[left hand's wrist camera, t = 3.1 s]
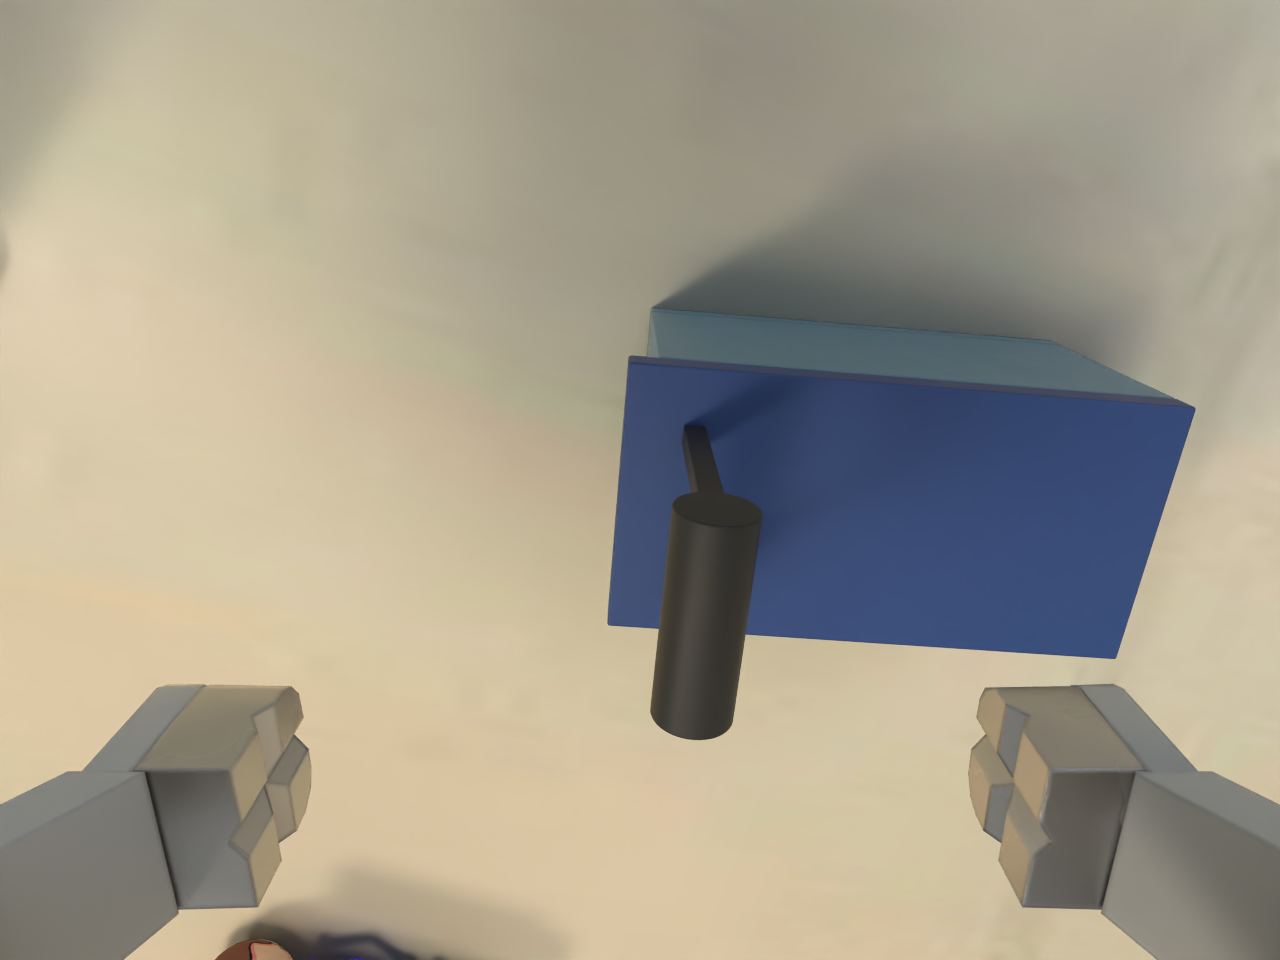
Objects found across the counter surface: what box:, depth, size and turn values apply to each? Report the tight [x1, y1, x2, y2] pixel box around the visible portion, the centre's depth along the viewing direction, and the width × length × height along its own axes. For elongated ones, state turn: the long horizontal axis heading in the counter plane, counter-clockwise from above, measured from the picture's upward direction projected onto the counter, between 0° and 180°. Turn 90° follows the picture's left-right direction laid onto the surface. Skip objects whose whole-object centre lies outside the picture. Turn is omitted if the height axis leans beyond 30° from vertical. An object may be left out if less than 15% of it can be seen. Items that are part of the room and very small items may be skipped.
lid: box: [608, 356, 1195, 740], centre depth 26 cm, size 18×9×9 cm, turn 85°
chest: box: [647, 308, 1174, 399], centre depth 34 cm, size 17×9×9 cm, turn 85°
